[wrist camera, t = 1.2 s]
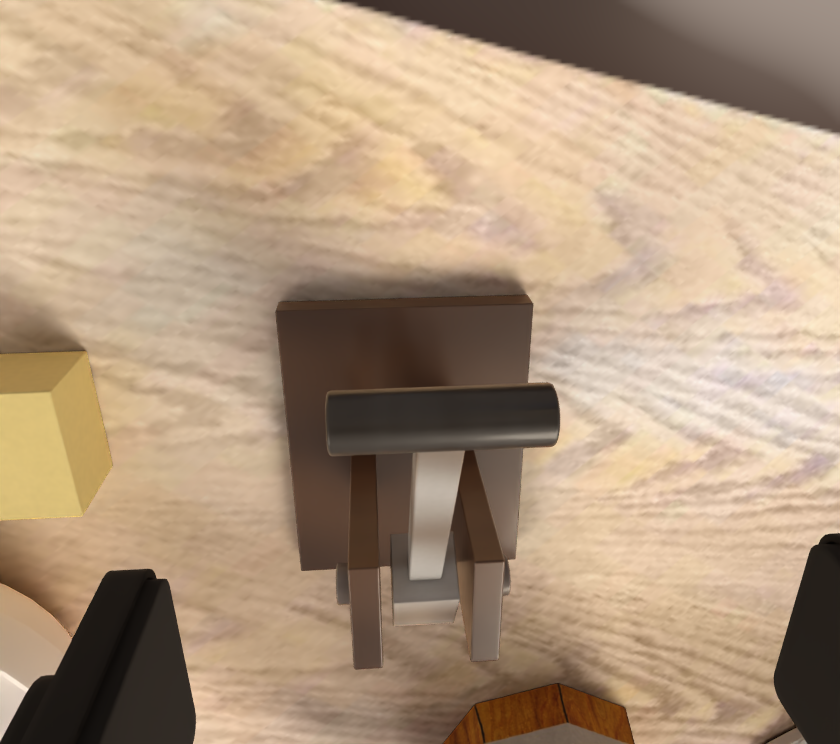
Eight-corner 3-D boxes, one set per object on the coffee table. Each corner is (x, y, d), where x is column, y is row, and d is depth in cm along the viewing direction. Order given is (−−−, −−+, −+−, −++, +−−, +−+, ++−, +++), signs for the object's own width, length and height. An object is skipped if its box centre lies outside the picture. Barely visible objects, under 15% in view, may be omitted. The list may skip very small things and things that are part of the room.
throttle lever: (325, 359, 15) (324, 456, 14) (548, 352, 15) (569, 446, 14) (352, 563, 26) (353, 629, 25) (484, 556, 26) (492, 620, 25)
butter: (-8, 353, 30) (-59, 395, 26) (87, 350, 30) (49, 391, 27) (26, 469, 32) (-16, 522, 29) (113, 465, 33) (82, 517, 29)
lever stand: (278, 301, 30) (231, 441, 19) (527, 294, 31) (615, 425, 20) (303, 555, 36) (277, 769, 25) (511, 544, 37) (572, 747, 26)
